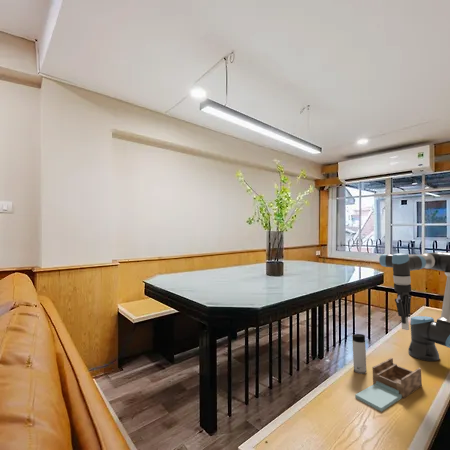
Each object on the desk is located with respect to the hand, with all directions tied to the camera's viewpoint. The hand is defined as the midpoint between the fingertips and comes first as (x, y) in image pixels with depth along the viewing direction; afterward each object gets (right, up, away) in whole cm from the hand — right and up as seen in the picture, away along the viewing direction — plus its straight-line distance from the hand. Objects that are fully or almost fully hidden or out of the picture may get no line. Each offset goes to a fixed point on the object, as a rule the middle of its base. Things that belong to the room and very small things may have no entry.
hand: (405, 329), depth 140 cm
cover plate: (-23, -26, -16) cm, 38 cm away
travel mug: (-19, -27, +8) cm, 34 cm away
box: (-8, -26, -6) cm, 27 cm away
